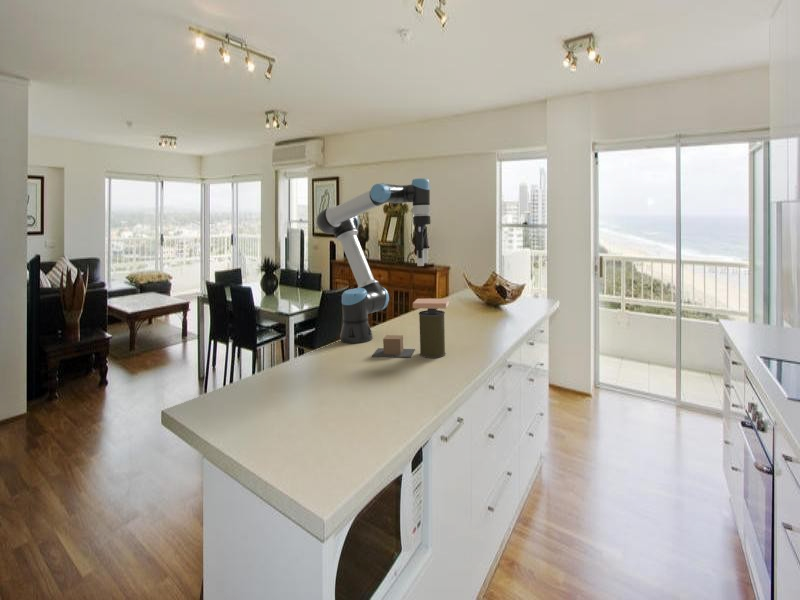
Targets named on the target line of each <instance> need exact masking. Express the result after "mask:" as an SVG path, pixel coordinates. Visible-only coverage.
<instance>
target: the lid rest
mask: <svg viewBox="0 0 800 600" xmlns="http://www.w3.org/2000/svg"><path fill="white" fill-rule="evenodd" d="M382 341H383V342H382V343H383V347H382V348H380V347H378V348H377V349H376V350H375V351H374V352H373V354H371V358H389V359H390V358H392V359H395V358H397V359H398V358H400V359H411V358H412V356H413V355H414V352H415V351H416V349H415V348H404V335H399V334H398V335H397V334H396V335H395V334H391V335H390V334H386V335H384V338H382Z"/></svg>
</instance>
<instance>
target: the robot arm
mask: <svg viewBox="0 0 800 600" xmlns="http://www.w3.org/2000/svg"><path fill="white" fill-rule="evenodd" d="M411 180H412V181H411V184H404V185H402V184H400V185H399V184H389V183H384V182H382V183H381V182H380V183H375V184H373V185H372V187H371V188H370V189H369V190H368V191H365V192H363V193H361V194H360V195H357V196H355V197H353V198H351V199H349V200H347V201H344V202H342V203H340V204H338V205H336V206H329V207H327V208H325V209H323V210H321V211H320V212H319V213H318V214H317V217H316V225H317V228H318V229H319V230H320V231H321V233H324V234H327V235H334V237H335V240H336V241H337V242H340V244H341V246H342V247H341V248H343V251H344V254H345V257H346V259H347V262H348V264H349V267H350V269H351V271H352V274H353V277H354V279H355V281H356V284H357V287H355V288H350V289H346V290H344V291H343V293H342V294H341V311H342V312H341V313H342V327H341V331H340V335H339V339H340V341H341V342H342V343H346V344H359V343H365V342H369V341H371V340H372V339H373V331H372V329H371V326H370V324H369V317H368V316H369V314H372V313H375V312H377V313H378V312H380V311H382V310H385V309H386V308H387V306H388V305H389V301H390V296H389V295H390V294H389V291H388V290H387V289H386V288H385V287H383V286H381V284H380V282H379V280H376V279H375V278H374V275H373V273H372V271H371V267H370V266H369V263H368V260H367V258H366V255H365V253H364V249H363V248H362V246H361V243H360V240H359V238H358V233H359V230H358V228H359V225H360V222H359V217H358V216H360V215H361V214H364V213H366V212H368V211H370V210H372V209H375V208H376V207H380V206H381V205H383V204H386V203H391V204H405V203H406V204H407V203H412V207H411V211H412V215H413V217H412V222H413V223H412V224H413V225H414V226H417V227H416V245H415V248H414V251H416V261H417V263H416V264H417V267H424V266H425V264H428V263H429V250H428V249H429V248H430V245H429V240H428V239H429V237H428V227H427V226H426V225H430V224H431V216H430V215H431V201H430V200H431V199H430V198H431V191H430V190H431V188H430V180H429V179H428V178H424V177H423V178H422V177H421V178H413V179H411Z"/></svg>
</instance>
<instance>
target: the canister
mask: <svg viewBox="0 0 800 600" xmlns="http://www.w3.org/2000/svg"><path fill="white" fill-rule="evenodd" d="M418 316H419V317H418V318H419V320H418V321H419V345H420V346H419V349H420V351H419V352H420V353H419V355H420V356H421V357H422V358H426V359H437V358H442V357H444V356H446V341H445V340H446V339H445V337H446V336H445V335H446V334H445V331H446V330H445V311H444V310H438V309H433V308H427V310H421V311H419V312H418Z"/></svg>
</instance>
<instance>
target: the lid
mask: <svg viewBox="0 0 800 600" xmlns="http://www.w3.org/2000/svg"><path fill="white" fill-rule="evenodd" d="M449 304H450V298H416V299H415V300H414V301H413V302H412V309H428V308H433V309H437V310H438V309H447V308H448V306H449Z"/></svg>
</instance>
